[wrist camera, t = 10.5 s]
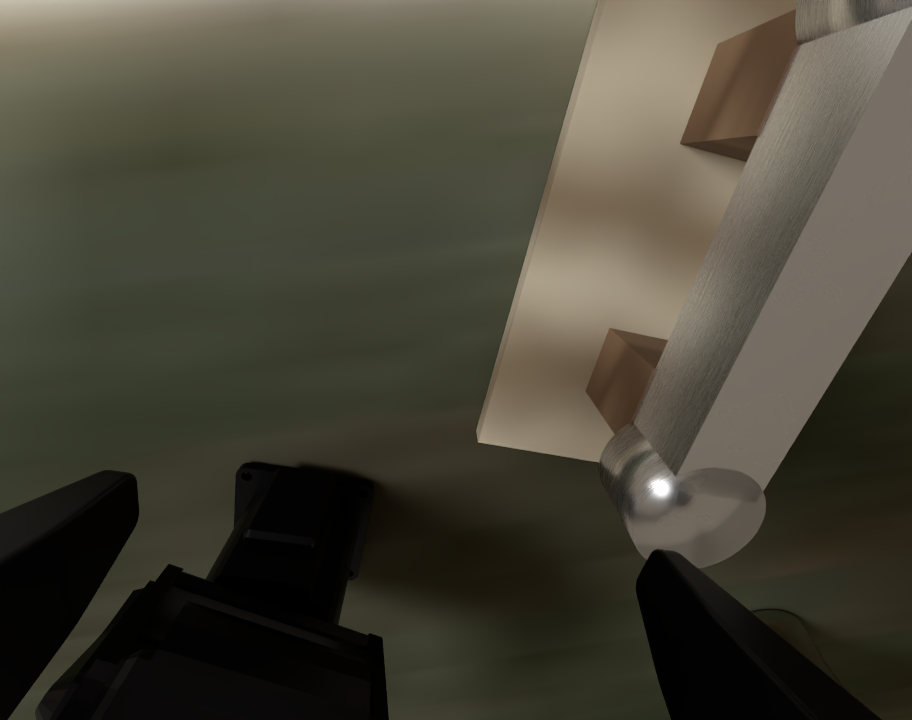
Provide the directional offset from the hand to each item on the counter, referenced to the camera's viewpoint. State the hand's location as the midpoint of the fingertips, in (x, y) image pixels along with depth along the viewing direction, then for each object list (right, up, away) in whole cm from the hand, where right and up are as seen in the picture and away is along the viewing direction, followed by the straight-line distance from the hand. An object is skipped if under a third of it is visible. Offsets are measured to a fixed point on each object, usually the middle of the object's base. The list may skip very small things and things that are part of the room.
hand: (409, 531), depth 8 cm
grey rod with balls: (+9, +6, +6) cm, 12 cm away
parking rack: (+9, +8, +10) cm, 16 cm away
